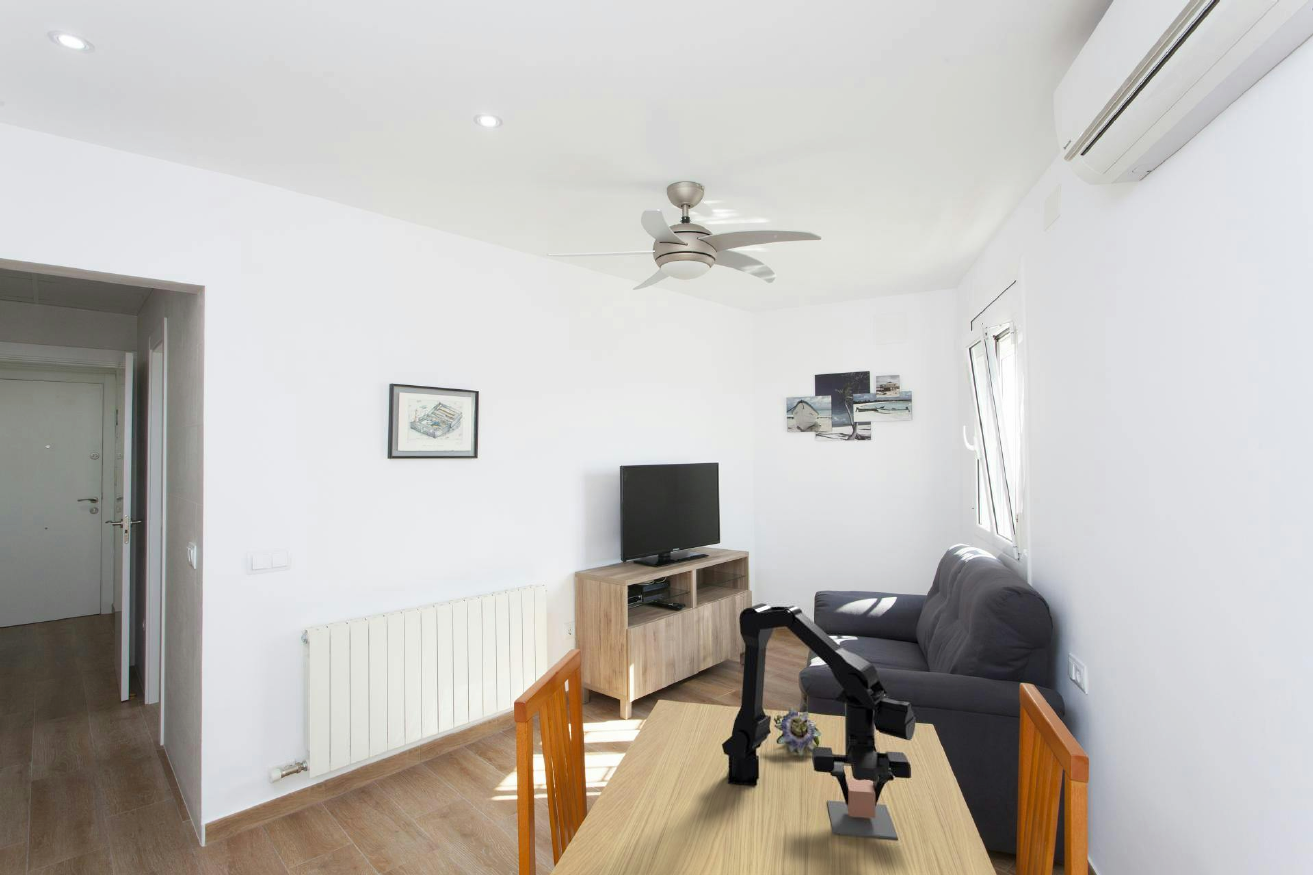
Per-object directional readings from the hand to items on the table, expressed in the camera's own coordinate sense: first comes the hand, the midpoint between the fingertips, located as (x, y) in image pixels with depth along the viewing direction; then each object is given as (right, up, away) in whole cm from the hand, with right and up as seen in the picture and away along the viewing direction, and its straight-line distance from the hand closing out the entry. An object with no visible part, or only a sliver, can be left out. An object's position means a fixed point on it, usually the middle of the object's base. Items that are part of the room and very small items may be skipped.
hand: (860, 804), depth 133 cm
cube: (0, -1, 0) cm, 1 cm away
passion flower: (-6, -5, +33) cm, 34 cm away
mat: (0, -3, 0) cm, 3 cm away
